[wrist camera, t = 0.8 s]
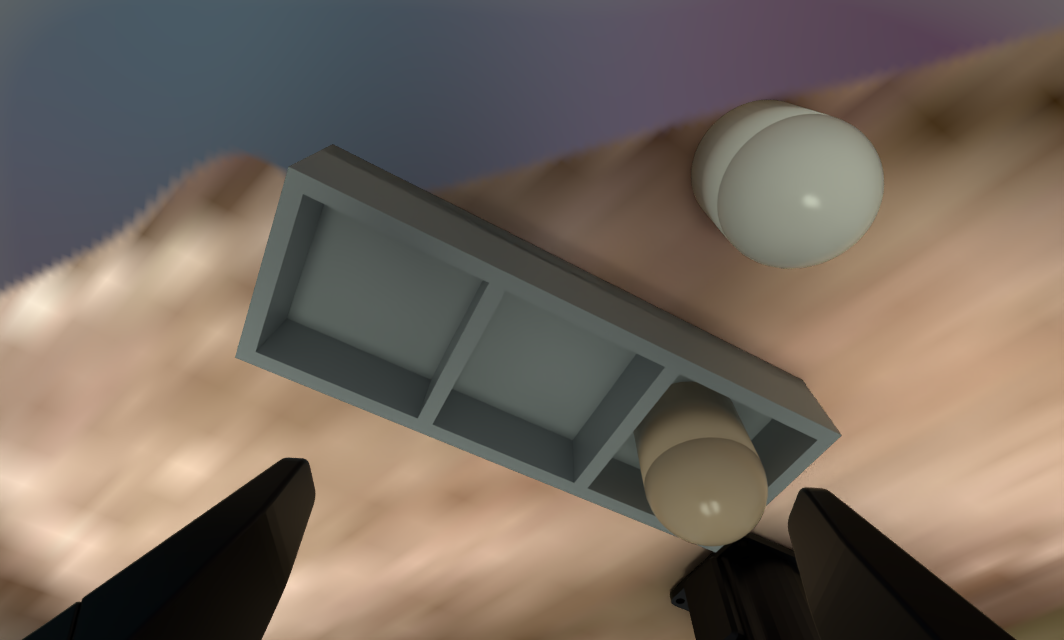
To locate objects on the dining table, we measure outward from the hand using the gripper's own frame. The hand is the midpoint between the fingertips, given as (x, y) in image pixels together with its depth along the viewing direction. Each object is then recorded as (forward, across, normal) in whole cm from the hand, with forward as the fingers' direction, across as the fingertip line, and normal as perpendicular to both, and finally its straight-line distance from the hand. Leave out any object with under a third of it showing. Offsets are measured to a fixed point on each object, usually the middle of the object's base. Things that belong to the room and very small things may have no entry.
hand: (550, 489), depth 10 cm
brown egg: (+11, -6, +7) cm, 14 cm away
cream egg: (+12, -7, -4) cm, 14 cm away
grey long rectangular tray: (+12, 0, +4) cm, 13 cm away
